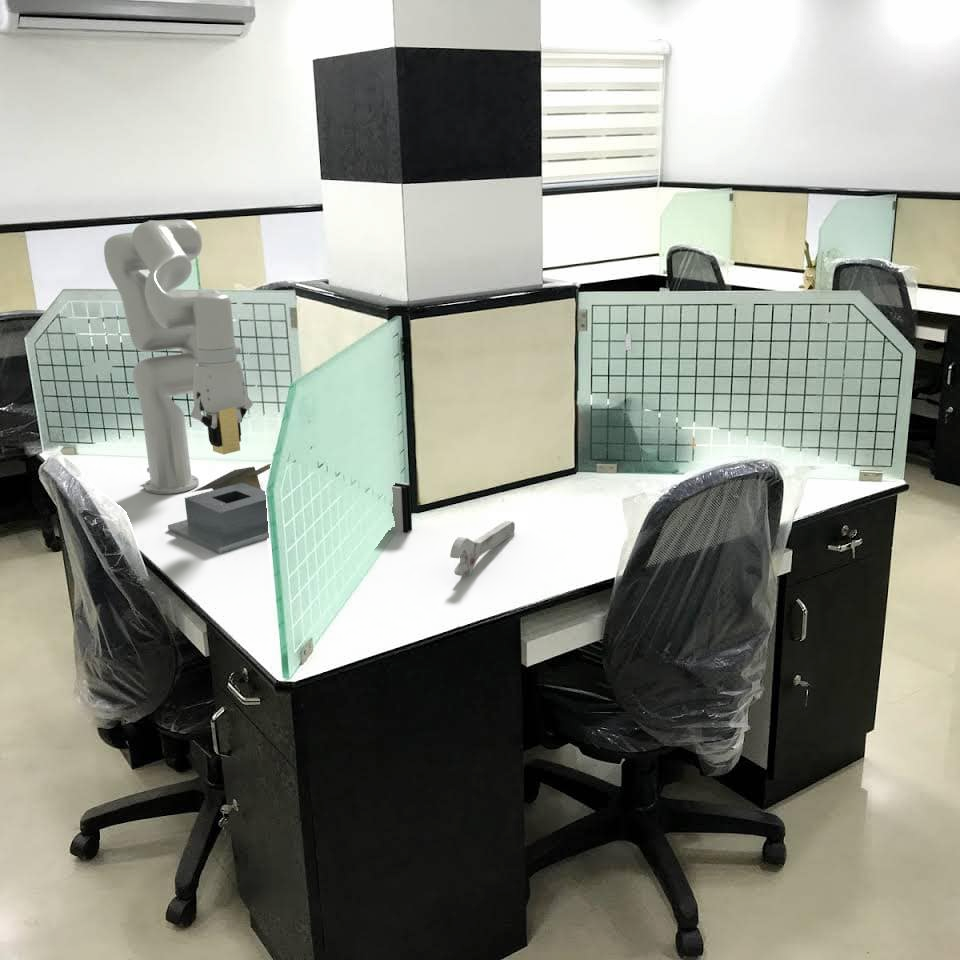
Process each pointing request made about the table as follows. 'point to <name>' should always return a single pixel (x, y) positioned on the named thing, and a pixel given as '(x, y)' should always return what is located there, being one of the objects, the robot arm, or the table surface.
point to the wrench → (478, 547)
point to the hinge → (401, 508)
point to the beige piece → (237, 478)
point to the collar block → (225, 518)
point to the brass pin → (228, 431)
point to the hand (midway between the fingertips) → (225, 442)
